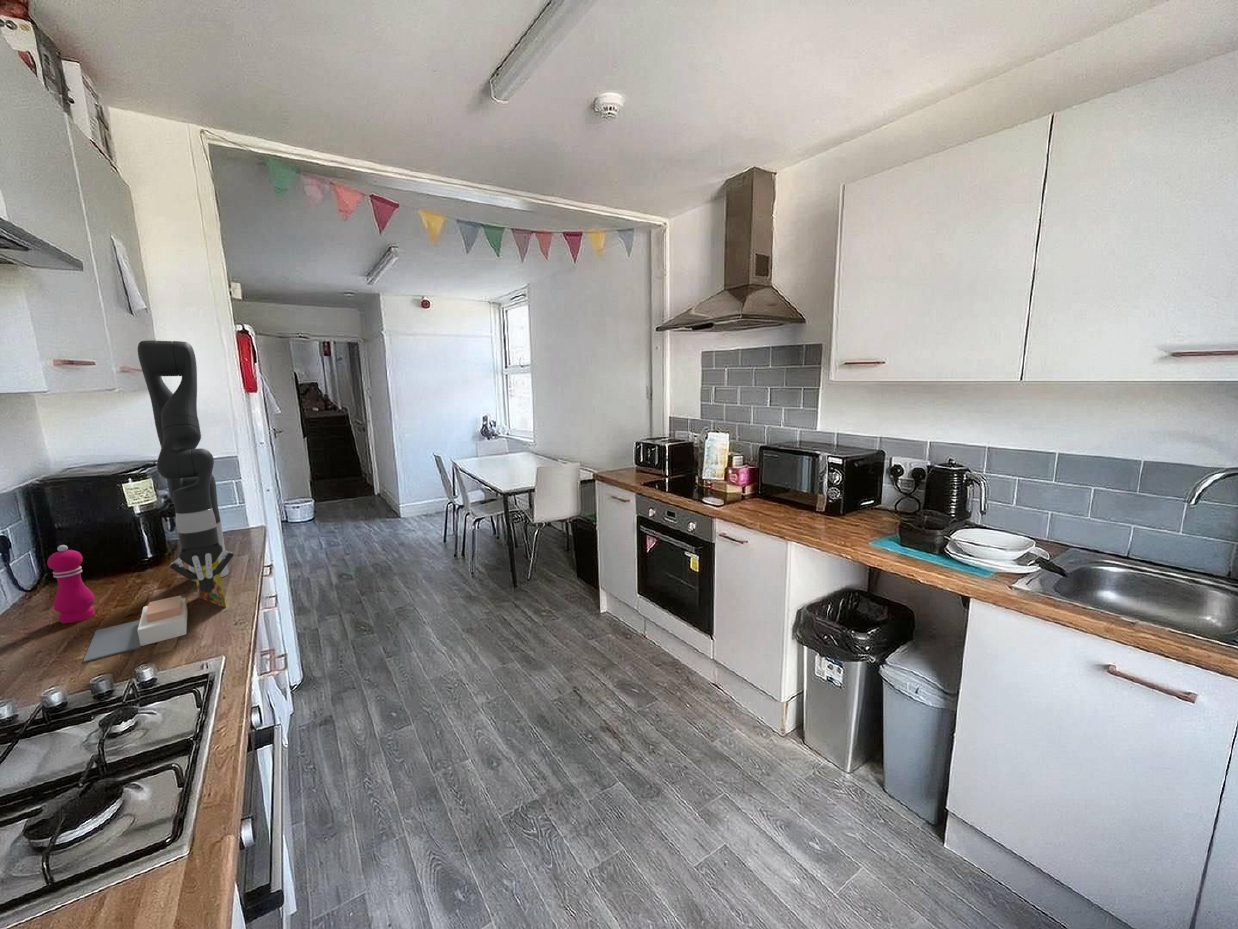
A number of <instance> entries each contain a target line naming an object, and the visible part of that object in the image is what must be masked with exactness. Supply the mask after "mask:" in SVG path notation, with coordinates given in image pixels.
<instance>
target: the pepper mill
mask: <svg viewBox="0 0 1238 929" xmlns="http://www.w3.org/2000/svg"><path fill="white" fill-rule="evenodd" d="M83 558H84V557H83V555H82V554H81V552H79V551H77V550H73V549H69V547H68V546H67V545H65V544H61V545H59V546H58V547H57V552H54V553H52V554H51V555H49V557H48V559H47V561H46V562H47V566H48V568H49V569H50V570H53V571H52V574H53V578H56V581H57V591H56V594H55V597H54V599H53V609H54V611H55V612H58V613H60V614H59V615H58V620H59V623H61V624H71V623H72V624H73V623H78V622H80V621H84V620H87V619H89V618H91V617H93V616H94V615H95V614H96V611H95V610H96V609H95V607H94V606H92V605H93V604H94V603H95V600H96V599H95V598H96V597H95V595H94V593H93V592H92V590H91V589H89V587H87V586H86V585H85V583H84V581H83V579H82V576H81V574H82V573H83V569H82V568H83V567H82V566H81V564H82V562H83V560H84V559H83Z"/></svg>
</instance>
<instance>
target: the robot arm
mask: <svg viewBox="0 0 1238 929" xmlns="http://www.w3.org/2000/svg"><path fill="white" fill-rule="evenodd" d="M137 357H138V360H139V364H140V368H141V371H142V374H143V377H144V380H145V385H146V387H147V391H148V394H149V399H150V402H151V407H152V414H153V418H154V419H153V420H154V425H155V429H156V433H157V437H158V441H159V445H160V448H161V449H160V451H159V455H158V457H157V462H156V469H157V472H158V473H159V475H160V476H161V477H163V478H164V479H167V480H166V481H167V488H168V494H169V497H170V500H171V502H172V503H173V506H174V511H175V512H174V513H175V525H176V527H175V529H176V531H177V535H178V537H177V538H178V542H179V546H180V547H179V548H180V552H179V555H178V558H177V559H175V560H174V561H171V562H170V564H169V568H170V569H171V570H173V571H175V572H176V573H178V574H179V575H181V576H182V577H184V578H187V579H188V580H190V581H191V582H194V583H196V580H198V581H199V585H200V590H201V592H203V591H204V593H209V592H212V589H214V587H215V586H214V580H213V577H214V576H215V575H217V574H220V573H221V578H224V577H225V576H227V575H229V573H230V572H229V571H230V570H229V565H228V563H229V562H230V561H231V560H232V558H233V557H234V553H233V551H232V550H229V551H228V550H226V546H225V540H224V533H223V527H222V521H221V516H220V511H219V505H218V504H219V503H218V495H217V485H216V479H215V477H214V475H213V474H212V473H213V471H214V470H213V469H214V463H215V460H214V456H213V454H212V452H210V451H209V450H208V449H205V448H197V447H198V445H199V444H200V441H201V439H202V433H201V426H200V422H199V416H198V409H197V402H198V401H197V400H198V399H197V397H198V370H197V369H198V368H197V360H196V354H195V351H194V348H193V346H192V345H191V344H190V343H189V342H187V341H181V340H173V341H172V340H156V339H155V340H153V339H152V340H148V339H147V340H141V341H139V343H138V345H137ZM163 377H181V381H180V382H179V385H178V386H177V388H176V390H175V391H174V392H172V391H171V390H170V388H169V387H168V386H167V385H166V383H165V382H164V380H163V379H162V378H163ZM217 558H218V560H219V564H218V566H217V567H216V568H215V569H214V570H212V564H213V563H214V562H215V561H216V560H217ZM184 563H185V564H187V565H188V568H187V567H185V566H184ZM202 566H206V576H207V577H205V576H204V573H203V569H202ZM194 567H195V571H196V573H195V572H194Z"/></svg>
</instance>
